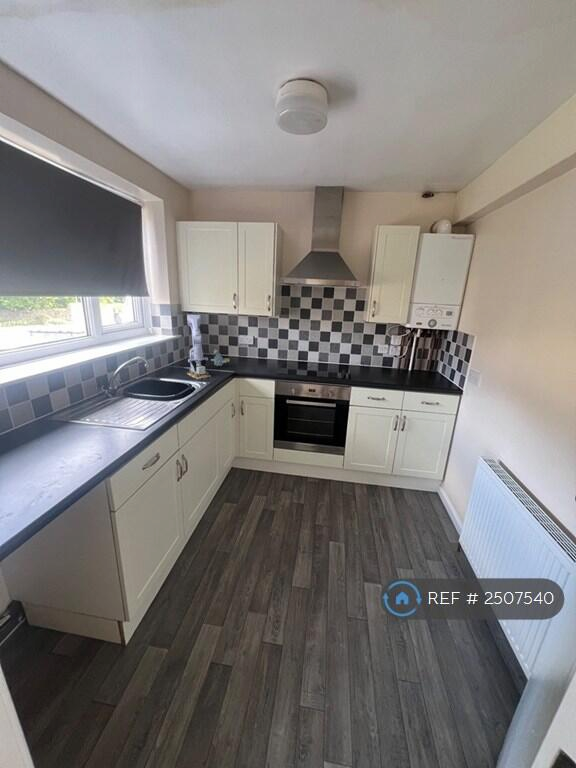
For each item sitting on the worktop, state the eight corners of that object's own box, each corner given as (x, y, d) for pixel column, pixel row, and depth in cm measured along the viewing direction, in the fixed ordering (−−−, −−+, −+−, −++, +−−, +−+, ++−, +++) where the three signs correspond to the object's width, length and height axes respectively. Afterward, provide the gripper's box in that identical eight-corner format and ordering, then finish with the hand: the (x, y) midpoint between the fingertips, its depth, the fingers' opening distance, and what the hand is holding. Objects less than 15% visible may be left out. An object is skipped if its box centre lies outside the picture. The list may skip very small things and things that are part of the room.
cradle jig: (187, 374, 228) (186, 370, 228) (200, 372, 235) (200, 368, 234) (197, 379, 215) (196, 375, 214) (211, 377, 222) (211, 373, 221)
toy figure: (207, 366, 257) (206, 348, 253) (215, 364, 266) (214, 347, 262) (222, 368, 249) (221, 351, 245) (230, 366, 258) (230, 349, 254)
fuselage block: (192, 371, 227) (192, 364, 226) (199, 370, 230) (198, 364, 229) (198, 374, 219) (198, 367, 218) (205, 373, 222) (205, 366, 221)
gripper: (190, 354, 213) (191, 372, 217) (209, 352, 222) (210, 370, 226) (186, 352, 218) (187, 370, 222) (205, 351, 227) (206, 368, 231)
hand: (198, 370), depth 224 cm, fingers closed on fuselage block, 5 cm apart
